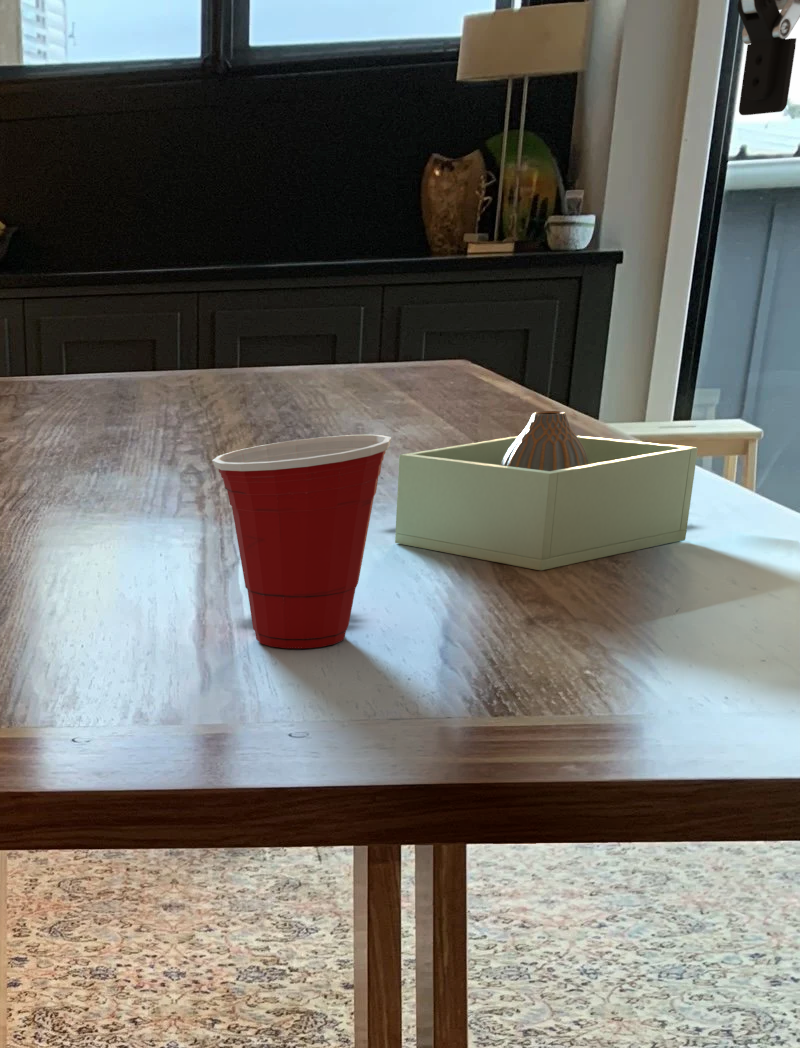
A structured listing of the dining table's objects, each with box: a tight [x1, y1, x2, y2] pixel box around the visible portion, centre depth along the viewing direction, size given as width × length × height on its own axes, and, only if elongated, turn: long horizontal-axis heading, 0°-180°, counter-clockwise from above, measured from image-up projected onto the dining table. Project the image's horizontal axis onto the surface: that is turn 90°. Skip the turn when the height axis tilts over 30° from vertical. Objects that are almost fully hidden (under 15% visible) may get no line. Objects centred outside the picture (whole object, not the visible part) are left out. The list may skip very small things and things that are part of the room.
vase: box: [501, 410, 589, 471], centre depth 118 cm, size 7×7×9 cm
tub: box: [394, 435, 699, 572], centre depth 119 cm, size 16×16×7 cm
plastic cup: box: [211, 434, 392, 650], centre depth 96 cm, size 11×11×12 cm
